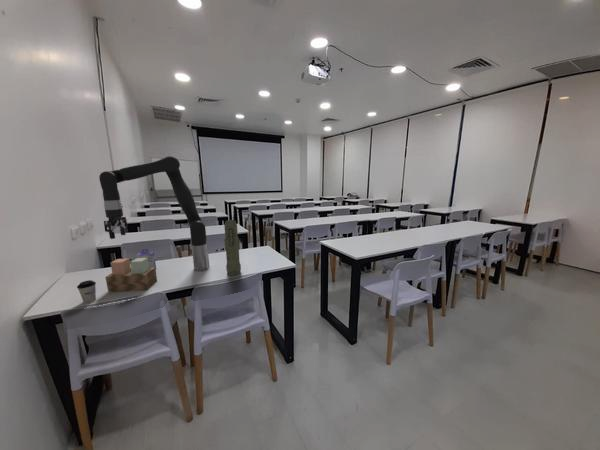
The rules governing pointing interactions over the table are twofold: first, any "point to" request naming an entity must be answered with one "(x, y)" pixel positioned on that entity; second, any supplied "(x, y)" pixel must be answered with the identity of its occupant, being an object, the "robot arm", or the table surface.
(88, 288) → the coffee cup
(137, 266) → the plunger
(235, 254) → the green carved pillar
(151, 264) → the ink cartridge box
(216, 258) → the table surface
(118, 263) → the plunger
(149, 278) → the housing
